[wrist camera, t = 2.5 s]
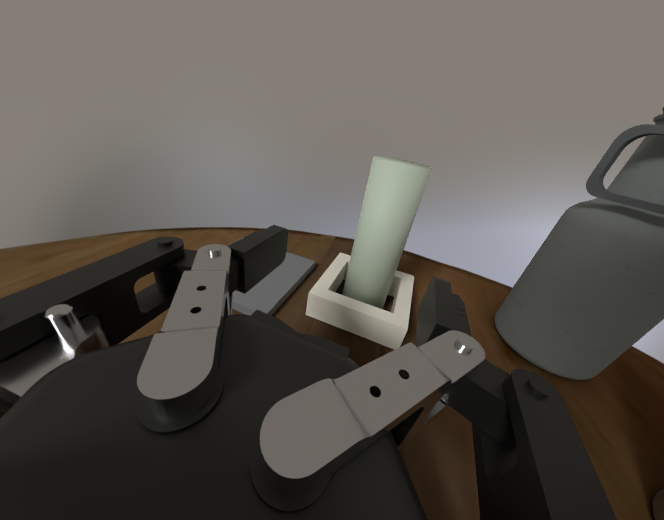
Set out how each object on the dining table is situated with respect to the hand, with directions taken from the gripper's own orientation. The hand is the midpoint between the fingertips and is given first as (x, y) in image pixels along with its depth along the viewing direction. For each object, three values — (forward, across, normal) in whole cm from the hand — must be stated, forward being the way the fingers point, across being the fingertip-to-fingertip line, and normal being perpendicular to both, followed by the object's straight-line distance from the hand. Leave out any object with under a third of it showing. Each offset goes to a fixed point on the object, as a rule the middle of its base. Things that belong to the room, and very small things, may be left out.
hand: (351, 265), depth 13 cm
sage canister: (+12, 0, +12) cm, 17 cm away
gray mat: (+10, +14, +12) cm, 21 cm away
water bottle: (+16, -20, +12) cm, 28 cm away
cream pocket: (+12, 0, +12) cm, 17 cm away
